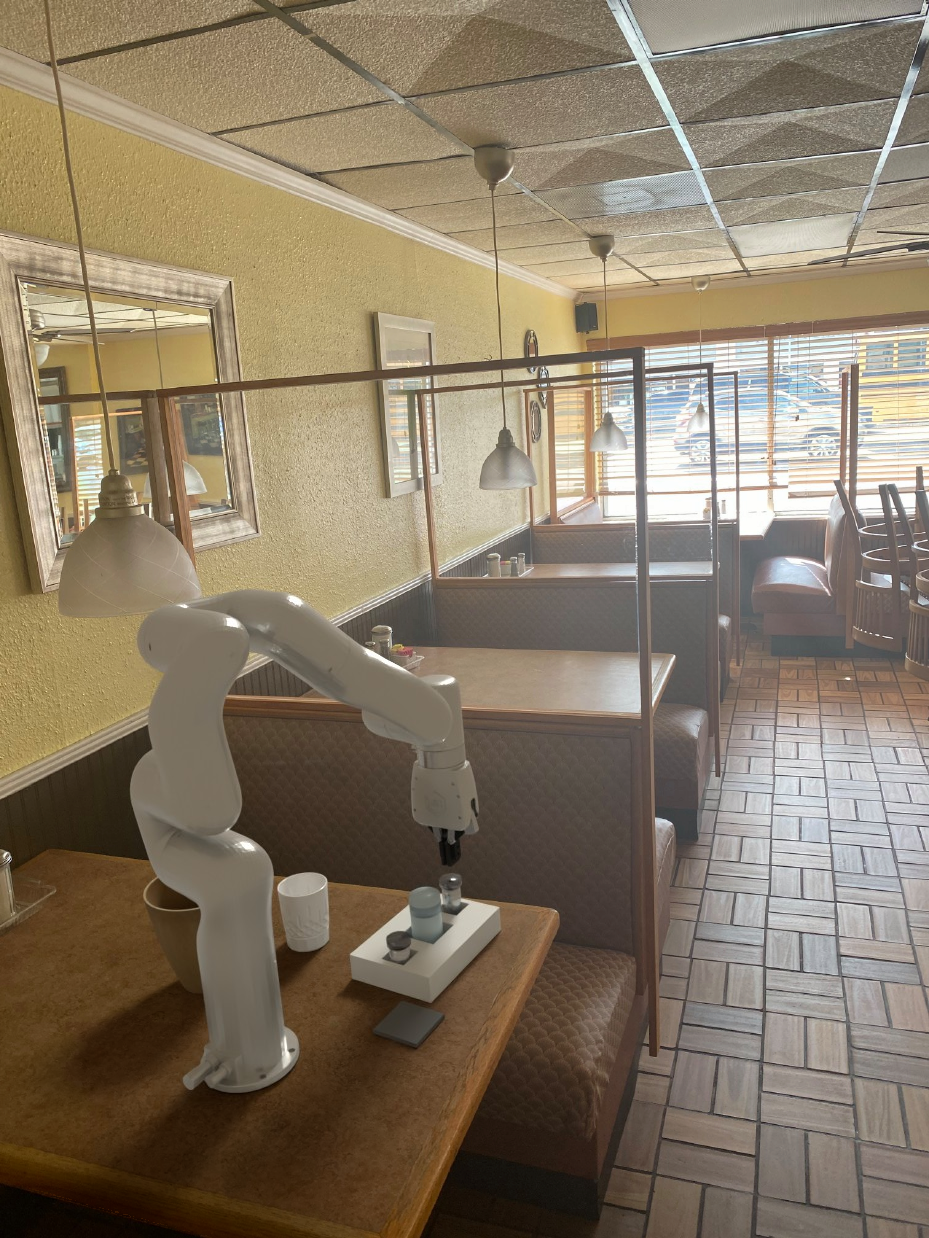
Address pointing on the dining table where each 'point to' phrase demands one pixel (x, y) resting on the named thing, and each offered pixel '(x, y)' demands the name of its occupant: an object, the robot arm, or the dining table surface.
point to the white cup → (305, 911)
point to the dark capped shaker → (451, 893)
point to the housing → (427, 952)
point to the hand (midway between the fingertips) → (451, 862)
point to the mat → (409, 1024)
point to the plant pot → (176, 931)
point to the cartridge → (426, 914)
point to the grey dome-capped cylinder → (399, 947)
